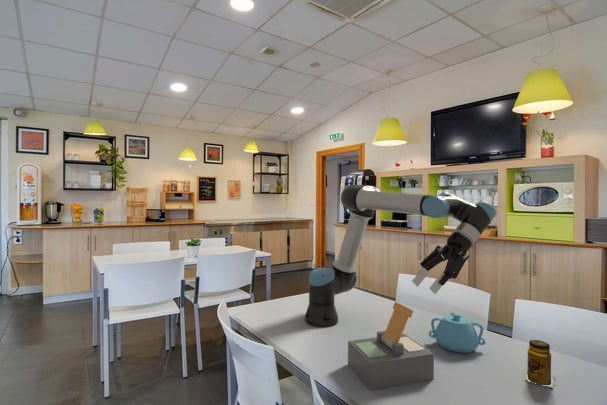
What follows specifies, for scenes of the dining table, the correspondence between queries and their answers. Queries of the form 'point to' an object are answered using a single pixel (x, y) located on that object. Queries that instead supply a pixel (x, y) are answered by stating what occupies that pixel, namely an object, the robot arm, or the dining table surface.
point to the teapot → (457, 333)
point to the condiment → (539, 363)
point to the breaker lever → (396, 324)
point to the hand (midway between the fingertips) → (423, 287)
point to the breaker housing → (390, 362)
